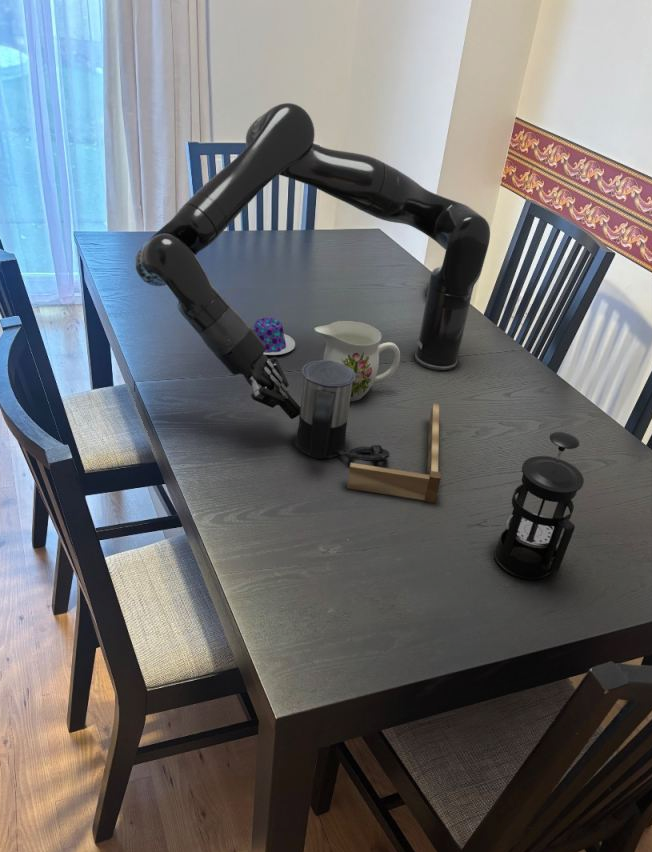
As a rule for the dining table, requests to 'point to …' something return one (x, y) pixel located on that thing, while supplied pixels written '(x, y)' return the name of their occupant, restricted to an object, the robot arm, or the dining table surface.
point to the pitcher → (357, 352)
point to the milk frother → (328, 413)
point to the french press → (535, 530)
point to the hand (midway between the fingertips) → (297, 414)
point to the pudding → (273, 336)
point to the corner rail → (403, 473)
